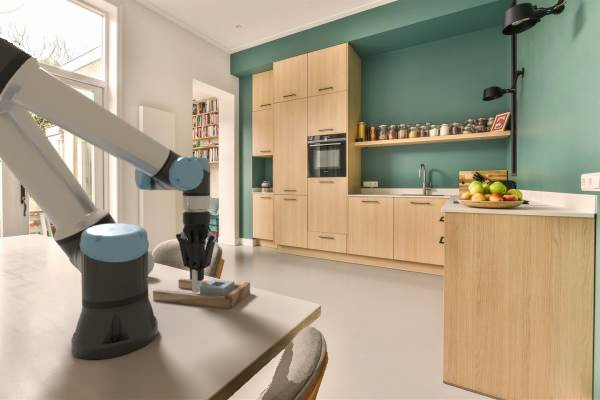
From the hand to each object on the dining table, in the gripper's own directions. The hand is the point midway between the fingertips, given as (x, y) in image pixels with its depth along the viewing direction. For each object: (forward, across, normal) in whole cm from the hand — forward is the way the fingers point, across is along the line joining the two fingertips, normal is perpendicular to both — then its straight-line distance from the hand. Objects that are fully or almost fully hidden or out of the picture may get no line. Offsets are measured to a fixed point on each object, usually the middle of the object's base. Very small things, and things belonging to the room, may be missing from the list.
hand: (197, 290), depth 88 cm
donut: (+2, +31, -10) cm, 32 cm away
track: (+1, -2, 0) cm, 2 cm away
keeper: (+1, -7, 0) cm, 7 cm away
